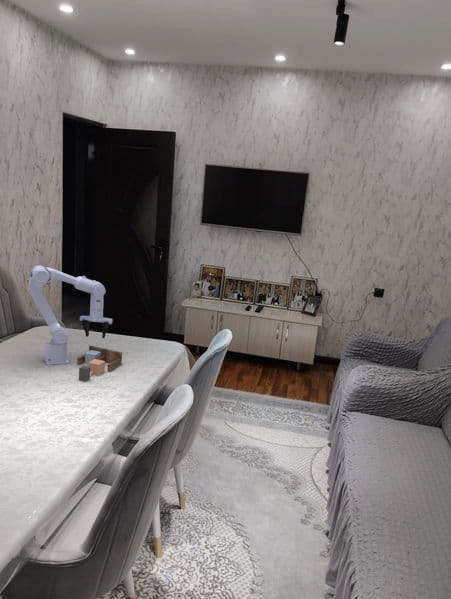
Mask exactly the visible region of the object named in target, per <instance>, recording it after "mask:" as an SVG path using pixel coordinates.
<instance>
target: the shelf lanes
mask: <svg viewBox="0 0 451 599" xmlns="http://www.w3.org/2000/svg"><path fill="white" fill-rule="evenodd" d="M90 350H94V351H99V352H101V357H100V358H98V359H97V360H102V361H105V363H108V364H107V372H109V373H110V372H112V371H114V370H115V369H117V368H119V367H121V366H122V363H123V362H122V361H123V351H118V350H114V349H113V350H112V349H108V348H104V347H98V346H94V345H88V351H90ZM76 364H77V365H79V366H80V365H82V364H85V353H84V354H83V355H79V357H77V358H76Z"/></svg>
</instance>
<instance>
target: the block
mask: <svg viewBox="0 0 451 599" xmlns="http://www.w3.org/2000/svg"><path fill="white" fill-rule="evenodd" d="M84 354H85V362H84V364H86V365H88V362H90V361H92V360H94V359H98V358H100V357H101V352H99V351H94V350H90V351H89V350H88V351H87V352H85V353H84Z"/></svg>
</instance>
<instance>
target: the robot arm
mask: <svg viewBox="0 0 451 599" xmlns="http://www.w3.org/2000/svg"><path fill="white" fill-rule="evenodd" d="M28 277H29V279H28V287H27V291H28V293H29V295H30V296H31V299H32V300H33V302H34V303H35V305H36V307H37V309H38V311H39V312H40V315H41V316H42V317H43V319H44V322H45V323H46V324H47V326H48V328H49V331H50V332H49V333H50V335H51V339H50V341H49V342H45V343H44V344H45V345H44V360H45V363H46V365H49V366H50V365H58V364H59V365H60V364H69V363H70V361H69V359H68V340H69V334H68V333H67V331H66V329H65V327H64V326H62V325H61V324H60V323H59V321H58V320H57V317H56V316H55V313H54V312H53V310H52V308H51V307H50V305H49V304H48V301H47V300H46V298H45V296H44V295H43V292H42V290H43V288H44V286H45V285H46V284H47V283H48V282H49V281H50V282H53V281H55V280H57V281H62V282H65V283H67V284H71V285H73V286H74V288H75V289H77V290H79V291H82V292H85V293H88V294H90V305H89V306H90V307H89V315H81V316H79V321H81V325H82V327H83V330H84V332H85V337H89V336H90V325H91V324H90V322H92V323H93V322H94V323H102V325H101V326H102V335H101V338H102V339H105V338H106V335H107V332H108V329H109V327H110V325H112V324H113V318H109V317H104V295H106V293H107V292H106V291H107V290H106V288H105V286H104V285H103V284H102V283H101V282H99V281H96V280H94V279H93V280H92V279H89V278H87V277H86V276H85V275H82V276H81V275H80V276H76V277H75V276H73V275H70V274H67V273H64V272H62V271H60V270H57V269H54V268H51V267H48V266H46V267H45V266H43V265H40V264H38V265H35V266H34V267H32V268H31V270H30V273H29V275H28Z"/></svg>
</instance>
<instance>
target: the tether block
mask: <svg viewBox="0 0 451 599" xmlns="http://www.w3.org/2000/svg"><path fill="white" fill-rule="evenodd" d="M105 365H106V362H105V361H102V360H97V359H94V360H92V361H90V362H88V364H87V365H85V364H84V365H81V366H80V367H79V368H78V381H80V382H87V381H90V379H91V376H92V375H93V376H98V377H99V376H101V375H102V374H103V373H105V367H106V366H105Z"/></svg>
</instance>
